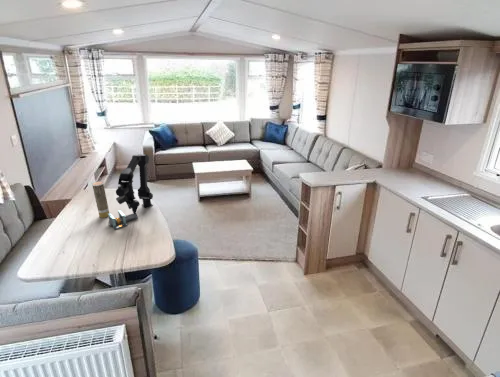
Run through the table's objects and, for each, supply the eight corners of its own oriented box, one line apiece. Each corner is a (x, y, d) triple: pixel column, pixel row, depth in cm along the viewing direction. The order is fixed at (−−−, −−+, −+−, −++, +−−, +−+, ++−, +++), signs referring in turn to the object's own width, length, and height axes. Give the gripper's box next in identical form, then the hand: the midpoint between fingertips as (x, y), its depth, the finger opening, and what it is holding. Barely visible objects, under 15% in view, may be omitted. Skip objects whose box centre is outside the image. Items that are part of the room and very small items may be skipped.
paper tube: (111, 213, 223) (105, 181, 213) (106, 218, 216) (99, 185, 206) (102, 213, 223) (95, 181, 213) (97, 218, 217) (90, 185, 207)
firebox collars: (108, 221, 212) (106, 212, 209) (121, 218, 216) (119, 208, 213) (115, 230, 202) (113, 220, 199) (127, 226, 206) (125, 216, 203)
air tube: (111, 227, 204) (109, 221, 203) (109, 225, 208) (108, 219, 206) (138, 219, 214) (136, 213, 213) (136, 217, 218) (134, 212, 217)
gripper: (112, 189, 208) (116, 209, 214) (120, 198, 195) (124, 220, 201) (128, 185, 215) (132, 205, 221) (138, 193, 201) (141, 215, 207)
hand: (132, 211), depth 212 cm, fingers open, 9 cm apart
